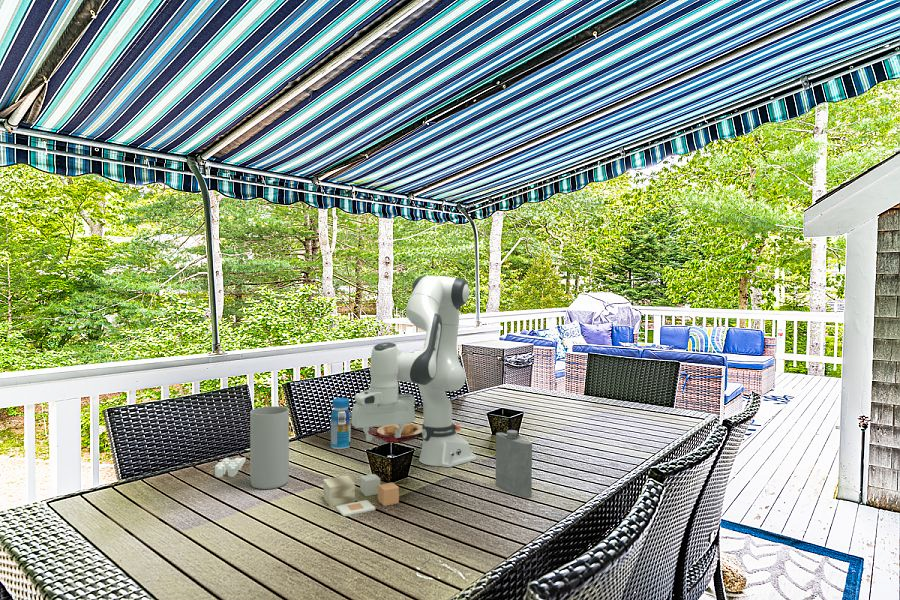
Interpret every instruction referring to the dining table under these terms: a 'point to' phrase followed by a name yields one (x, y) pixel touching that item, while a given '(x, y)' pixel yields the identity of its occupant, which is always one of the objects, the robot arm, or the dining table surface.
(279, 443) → the cylinder vase
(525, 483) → the hip flask
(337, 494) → the birch block
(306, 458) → the dining table surface
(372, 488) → the grey cube
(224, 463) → the modular blocks
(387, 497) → the terracotta cube
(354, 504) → the card
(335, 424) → the beverage bottle
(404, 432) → the plate with food
